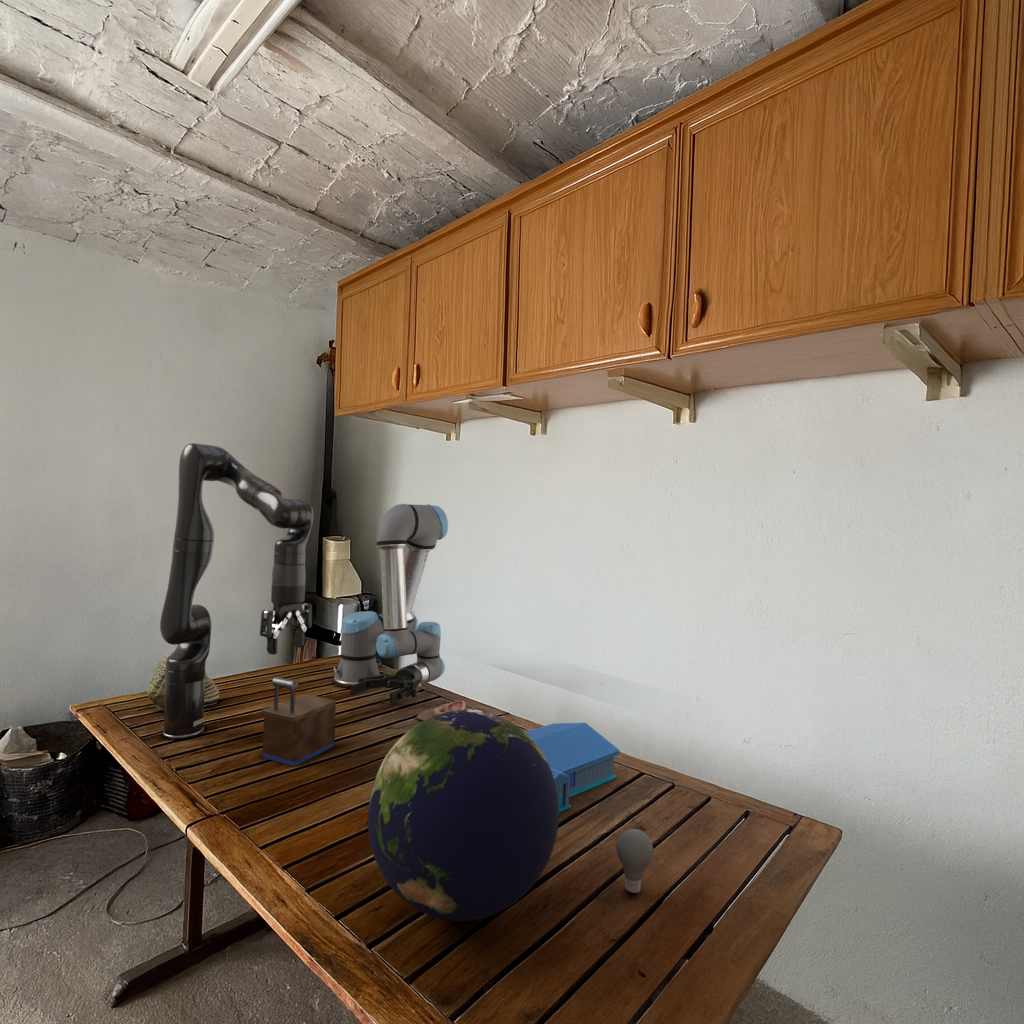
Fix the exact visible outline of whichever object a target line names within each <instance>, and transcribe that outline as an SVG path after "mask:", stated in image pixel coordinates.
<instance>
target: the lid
mask: <svg viewBox="0 0 1024 1024" xmlns="http://www.w3.org/2000/svg"><path fill="white" fill-rule="evenodd" d="M271 684H272V686H273V687H274V695H273V696H274V697H273V705H271V706H268V707H265V708H262V709H261V711H260V713H261V715H263V716H264V715H268V716H272V717H277V718H281V719H285V720H289V721H293V722H294V721H296V720H299V719H301V718H303V717H306V716H308V715H311V714H313V713H316V712H318V711H320V710H323V709H325V708H328V707H330V706H333V705H335V704H336V705H337V700H335V699H331V698H326V697H321V696H317V695H312V694H308V693H304V694H301V695H299V696H296V689H297V688H298V686H299V683H298V681H297V680H293V679H289V678H283V677H280V676H275V677H274V678H272V682H271ZM280 688H282V689H287V690H290V699H288V700H284V701H283V702H280V703H279V695H280V694H279V693H280Z"/></svg>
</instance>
